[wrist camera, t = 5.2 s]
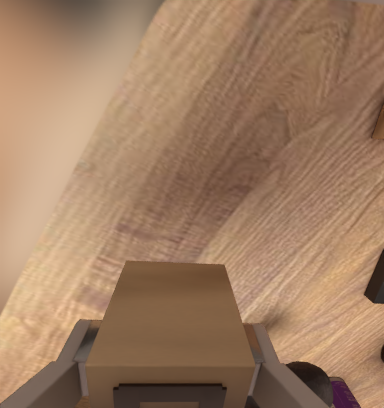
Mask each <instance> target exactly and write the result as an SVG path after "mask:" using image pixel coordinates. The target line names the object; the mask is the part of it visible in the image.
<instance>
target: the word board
mask: <svg viewBox="0 0 384 408" xmlns="http://www.w3.org/2000/svg"><path fill="white" fill-rule="evenodd" d="M364 295H365V296H366V297H367V298H368V299H369V300H370V301H371V302H373V303H378V304H384V250H383V253H382V255H381V257H380V260H379V262H378V264H377V267H376V269H375V271H374V274H373V276H372V278H371V280H370V283H369V285H368V287H367V290H366V292H365V294H364Z"/></svg>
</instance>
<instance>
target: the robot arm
mask: <svg viewBox="0 0 384 408" xmlns="http://www.w3.org/2000/svg"><path fill="white" fill-rule="evenodd" d="M101 323H102V320H86V319H80V320H79V321H78V322H77V323H76V324H75V326H74V328H73V330H72V332H71V334H70V336H69V338H68V340H67V341H66V343H65V345H64V347H63V349H62V351H61V353H60V355H59V357H58V359H57V360H56V361H52V362H50V363H49V364H48V365H47V366H46V367H44V368H43V369H42V370H41V371H40V372H38V373H37V374H36V375H35V376H33V377H32V378H31V379H30V380H29V381H27V382H26V383H25V384H24V385H23V386H21V387H20V388H19V389H18V390H16V391H15V392H14V393H13V394H12V395H10V396H9V397H8V398H7V399H6V400H4V401H3V402H2V403H1V404H0V408H74V407H75V406H76V405H77V403H78V402H79V401H80V400H81V398H82V396H89V394H88V386H87V378H86V371H85V363H86V361H87V358H88V356H89V353H90V351H91V348H92V346H93V343H94V341H95V338H96V336H97V333H98V330H99V328H100V325H101ZM243 326H244V330H245V333H246V336H247V339H248V343H249V346H250V349H251V352H252V355H253V359H254V362H255V365H256V367H255V371H254V375H253V378H252V382H251V385H250V389H249V393H248V396H252V397H253V399H254V400H255V402H256V403H257V405H258V406H259V407H260V408H329V407H328V406H327V405H326V404H325V403H324V402H323V401H322V400H321V399H320V398H319V397H318V396H317V395H316V394H315V393H314V392H313V391H312V390H311V389H310V388H309V387H308V386H307V385H306V384H305V383H303V382H302V381H301V380H300V379H299V378H298V377H297V376H296V375H295V374H294V373H293V372H292V371H291V370H290V369H289V368H288V367H287V366H286V365H285V364H284V363H280V362H279V360H278V357H277V355H276V352H275V350H274V348H273V345H272V343H271V341H270V338H269V336H268V333H267V331H266V329H265V326H264V325H263V324H259V323H243Z"/></svg>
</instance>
